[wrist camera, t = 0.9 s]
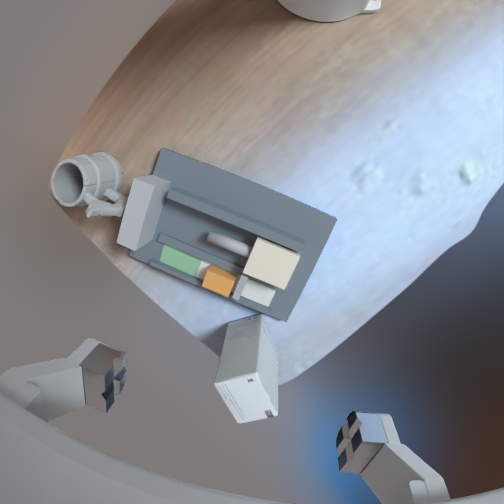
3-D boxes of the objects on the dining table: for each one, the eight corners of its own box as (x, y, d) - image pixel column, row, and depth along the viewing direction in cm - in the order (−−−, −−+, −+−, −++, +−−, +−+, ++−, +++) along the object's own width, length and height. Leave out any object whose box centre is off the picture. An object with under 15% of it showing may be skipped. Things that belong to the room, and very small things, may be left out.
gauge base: (164, 148, 43) (143, 147, 36) (335, 217, 43) (345, 229, 36) (132, 253, 48) (110, 268, 41) (286, 318, 48) (286, 343, 41)
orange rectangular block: (211, 264, 46) (207, 270, 43) (237, 275, 46) (234, 281, 43) (205, 279, 46) (201, 286, 44) (230, 290, 46) (228, 297, 44)
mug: (100, 142, 43) (52, 142, 32) (154, 186, 44) (114, 197, 33) (78, 182, 45) (30, 192, 34) (129, 226, 46) (87, 247, 35)
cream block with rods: (218, 216, 43) (213, 220, 40) (299, 250, 44) (300, 256, 41) (196, 276, 46) (190, 283, 43) (271, 307, 46) (271, 316, 44)
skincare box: (228, 321, 50) (208, 380, 35) (264, 311, 48) (256, 370, 34) (247, 362, 52) (235, 426, 37) (281, 353, 50) (279, 418, 36)
